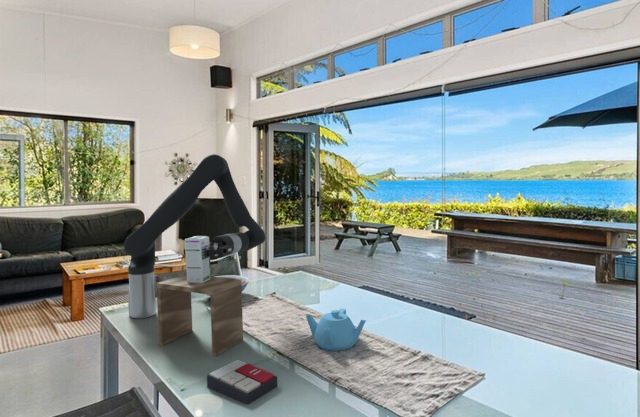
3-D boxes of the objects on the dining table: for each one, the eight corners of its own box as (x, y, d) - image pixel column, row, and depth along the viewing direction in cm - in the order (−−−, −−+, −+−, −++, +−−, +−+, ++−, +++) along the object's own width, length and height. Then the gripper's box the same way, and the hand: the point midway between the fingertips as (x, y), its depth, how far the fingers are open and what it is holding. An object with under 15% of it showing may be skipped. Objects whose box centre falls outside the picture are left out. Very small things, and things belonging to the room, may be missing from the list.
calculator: (247, 392, 100) (206, 372, 108) (247, 409, 100) (206, 387, 109) (278, 373, 108) (237, 356, 117) (277, 389, 109) (237, 371, 118)
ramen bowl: (262, 294, 192) (261, 277, 191) (225, 308, 173) (225, 289, 172) (222, 287, 205) (222, 271, 205) (185, 299, 186) (184, 281, 185)
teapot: (368, 347, 132) (368, 314, 131) (326, 357, 125) (325, 322, 125) (344, 331, 146) (344, 301, 145) (305, 339, 139) (304, 308, 138)
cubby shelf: (159, 345, 136) (156, 283, 135) (189, 330, 149) (186, 273, 147) (216, 356, 127) (214, 290, 125) (243, 339, 139) (241, 279, 138)
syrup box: (202, 283, 133) (201, 238, 132) (186, 282, 134) (184, 238, 133) (211, 279, 138) (210, 235, 137) (195, 278, 140) (193, 235, 139)
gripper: (209, 233, 151) (177, 240, 137) (242, 235, 145) (212, 242, 131) (210, 254, 152) (178, 263, 137) (243, 256, 146) (213, 266, 131)
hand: (194, 253), depth 134 cm, fingers open, 8 cm apart
